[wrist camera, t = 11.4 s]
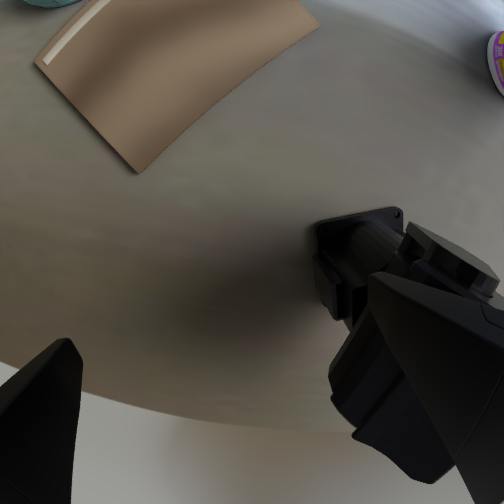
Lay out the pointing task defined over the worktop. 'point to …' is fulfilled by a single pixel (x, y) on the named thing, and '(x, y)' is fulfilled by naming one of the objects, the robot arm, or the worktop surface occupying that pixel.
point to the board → (164, 62)
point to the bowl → (51, 3)
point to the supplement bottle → (497, 59)
